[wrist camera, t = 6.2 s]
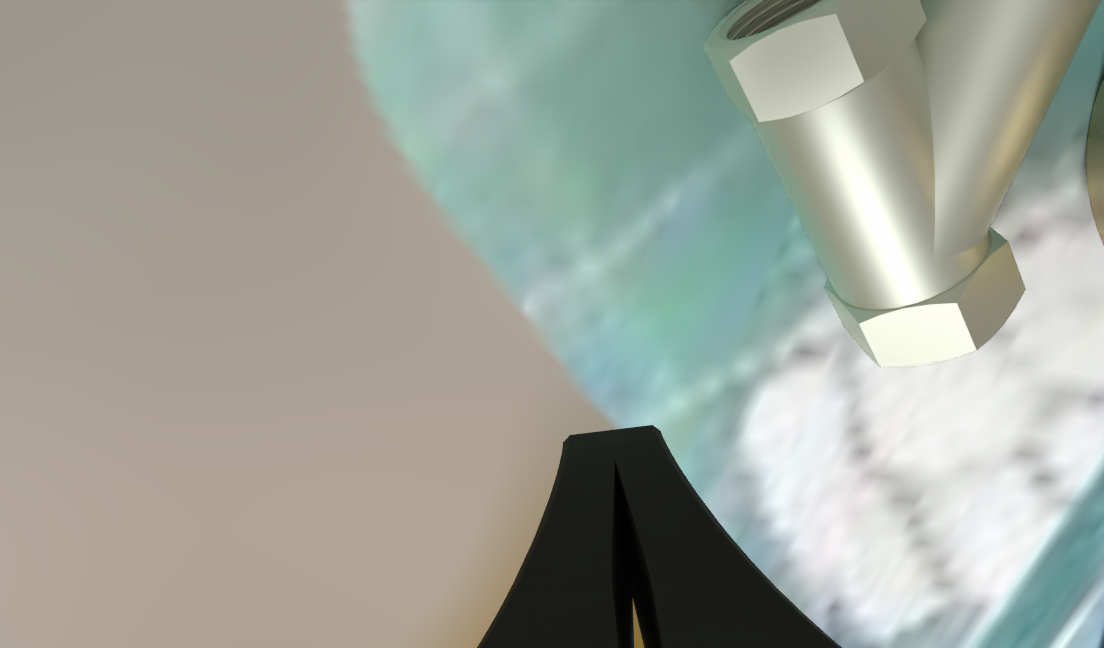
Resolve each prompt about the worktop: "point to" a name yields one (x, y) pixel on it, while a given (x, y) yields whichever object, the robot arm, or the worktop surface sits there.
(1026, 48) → the pipe fitting
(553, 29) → the worktop surface
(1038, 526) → the worktop surface
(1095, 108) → the grey block with discs
